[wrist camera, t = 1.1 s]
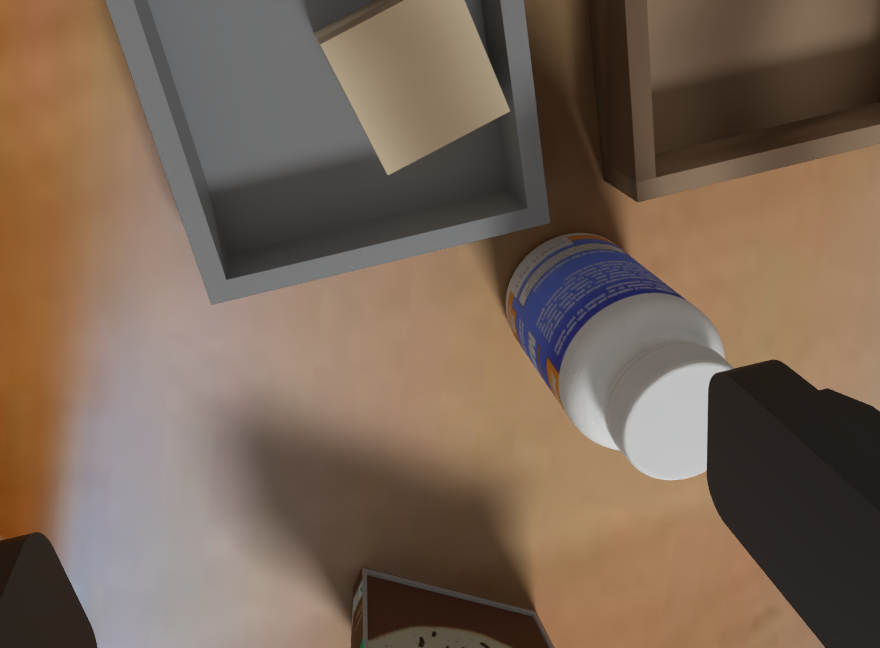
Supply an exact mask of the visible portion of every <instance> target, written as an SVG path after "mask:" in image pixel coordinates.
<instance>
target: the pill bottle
mask: <svg viewBox="0 0 880 648" xmlns="http://www.w3.org/2000/svg"><path fill="white" fill-rule="evenodd" d="M506 314H507V319H508V322H509V325H510V328H511V330H512V332H513V334H514V336H515V337H516V339H517V341H518V342H519V344H520V345H521V347H522V348H523V350H524V351H525V353H526V354H527V356H528V357H529V359H530V360H531V362H532V363H533V365H534V366H535V368H536V369H537V371H538V372H539V374H540V375H541V377H542V378H543V379H544V381H545V382H546V384H547V385H548V387H549V388H550V390H551V391H552V393H553V394H554V396H555V397H556V399H557V400H558V402H559V403H560V405H561V406H562V408H563V409H564V411H565V412H566V414H567V415H568V416H569V418H570V419H571V420H572V422H573V423H574V424H575V426H576V427H577V428H578V429H579V430H580V431H581V432H582V433H583V434H584V435H585V436H586V437H588V438H589V439H591V440H592V441H594V442H596V443H598V444H600V445H602V446H605V447H608V448H611V449H615V450H620V451H621V452H622V453H623V454H624V455H625V456H626V457H627V459H628V460H629V461H630V462H631V463H632V464H633V465H634V466H635V467H636V468H637V469H638V470H639V471H641V472H642V473H644V474H646V475H648V476H651V477H653V478H657V479H663V480H679V479H685V478H689V477H693V476H696V475H698V474H701V473H703V472H705V471H707V427H708V387H709V382H710V380H711V378H712V376H713V375H714V374H715V373H718V372H722V371H727V370H731V369H734V368H733V367H732V366H731V365H730V364H729V363H728V362H727V361H726V360H725V357H724V350H723V345H722V341H721V338H720V336H719V334H718V332H717V330H716V328H715V327H714V325H713V324H712V322H711V321H710V320H709V319H708V318H707V317H706V316H705V315H704V314H703V313H702V312H701V311H700V310H699V309H697V308H696V307H695V306H694V305H692V304H691V303H690V302H688V301H687V300H686V299H685V298H683V297H682V296H681V295H679V294H678V293H677V292H675V291H674V290H673V289H672V288H670V287H669V286H668V285H666V284H665V283H664V282H663V281H661V280H660V279H659V278H657V277H656V276H655V275H654V274H652V273H651V272H650V271H648V270H647V269H646V268H645V267H643V266H642V265H641V264H640V263H638V262H637V261H636V260H635V259H633V258H632V257H631V256H630V255H629V254H627V253H626V252H625V251H624V250H622V249H621V248H620V247H619V246H617V245H616V244H615V243H613V242H612V241H610V240H608V239H606V238H604V237H602V236H599V235H595V234H590V233H571V234H565V235H561V236H558V237H555V238H553V239H551V240H549V241H546V242H544V243H543V244H541V245H539V246H538V247H537V248H535V249H534V250H533V251H531V252H530V253H529V254H528V255H527V256H526V257H525V258H524V259H523V261H522V262H521V263H520V264H519V266H518V267H517V269H516V270H515V272H514V274H513V276H512V278H511V280H510V283H509V286H508V289H507V295H506Z"/></svg>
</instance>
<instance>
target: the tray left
mask: <svg viewBox="0 0 880 648" xmlns="http://www.w3.org/2000/svg"><path fill="white" fill-rule="evenodd" d="M105 1H106V4H107V7H108V9H109V12H110V15H111V18H112V21H113V24H114V27H115V30H116V32H117V35H118V38H119V41H120V44H121V47H122V50H123V53H124V55H125V58H126V61H127V64H128V67H129V70H130V73H131V76H132V78H133V81H134V84H135V87H136V90H137V93H138V96H139V99H140V101H141V104H142V107H143V110H144V113H145V116H146V119H147V122H148V124H149V127H150V130H151V133H152V136H153V139H154V142H155V145H156V147H157V150H158V153H159V156H160V159H161V162H162V165H163V168H164V170H165V173H166V176H167V179H168V182H169V185H170V188H171V191H172V193H173V196H174V199H175V202H176V205H177V208H178V211H179V214H180V216H181V219H182V222H183V225H184V228H185V231H186V234H187V237H188V239H189V242H190V245H191V248H192V251H193V254H194V257H195V260H196V262H197V265H198V268H199V271H200V274H201V277H202V280H203V283H204V285H205V288H206V291H207V294H208V297H209V300H210V303H211V305H213V304H217V303H222V302H226V301H230V300H234V299H238V298H242V297H246V296H251V295H255V294H259V293H263V292H267V291H271V290H276V289H280V288H284V287H288V286H292V285H296V284H300V283H305V282H309V281H313V280H317V279H321V278H325V277H329V276H334V275H338V274H342V273H346V272H350V271H354V270H358V269H363V268H367V267H371V266H375V265H379V264H383V263H388V262H392V261H396V260H400V259H404V258H408V257H412V256H417V255H421V254H425V253H429V252H433V251H437V250H441V249H446V248H450V247H454V246H458V245H462V244H466V243H471V242H475V241H479V240H483V239H487V238H491V237H495V236H500V235H504V234H508V233H512V232H516V231H520V230H524V229H529V228H533V227H537V226H541V225H545V224H549V223H550V216H549V208H548V200H547V191H546V183H545V174H544V166H543V158H542V149H541V141H540V132H539V124H538V115H537V107H536V99H535V90H534V82H533V73H532V65H531V56H530V48H529V40H528V31H527V23H526V14H525V6H524V0H464V1H465V3H466V5H467V8H468V10H469V13H470V15H471V17H472V20H473V22H474V25H475V27H476V29H477V32H478V34H479V37H480V39H481V42H482V44H483V46H484V49H485V51H486V54H487V56H488V58H489V61H490V63H491V66H492V68H493V70H494V73H495V75H496V78H497V80H498V83H499V85H500V87H501V90H502V92H503V95H504V97H505V99H506V102H507V104H508V107H509V109H510V112H508V113H506V114H504V115H502V116H500V117H498V118H496V119H495V120H493V121H491V122H489V123H487V124H485V125H483V126H481V127H479V128H477V129H475V130H474V131H472V132H470V133H468V134H466V135H464V136H462V137H460V138H458V139H456V140H455V141H453V142H451V143H449V144H447V145H445V146H443V147H441V148H439V149H437V150H436V151H434V152H432V153H430V154H428V155H426V156H424V157H422V158H420V159H418V160H416V161H415V162H413V163H411V164H409V165H407V166H405V167H403V168H401V169H399V170H397V171H396V172H394V173H392V174H390V175H387V173H386V171H385V169H384V167H383V166H382V164H381V162H380V160H379V158H378V156H377V154H376V153H375V151H374V149H373V147H372V145H371V143H370V141H369V139H368V137H367V135H366V133H365V132H364V130H363V128H362V126H361V124H360V122H359V120H358V118H357V116H356V114H355V112H354V110H353V108H352V106H351V104H350V102H349V101H348V99H347V97H346V95H345V93H344V91H343V89H342V87H341V85H340V83H339V81H338V79H337V77H336V75H335V73H334V72H333V70H332V68H331V66H330V64H329V62H328V60H327V58H326V56H325V54H324V52H323V50H322V48H321V46H320V44H319V42H318V41H317V39H316V37H315V35H314V32H316V31H318V30H320V29H321V28H323V27H325V26H327V25H329V24H331V23H333V22H335V21H336V20H338V19H340V18H342V17H344V16H346V15H348V14H350V13H351V12H353V11H355V10H357V9H359V8H361V7H363V6H365V5H367V4H368V3H370V2H372V1H374V0H105Z"/></svg>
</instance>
